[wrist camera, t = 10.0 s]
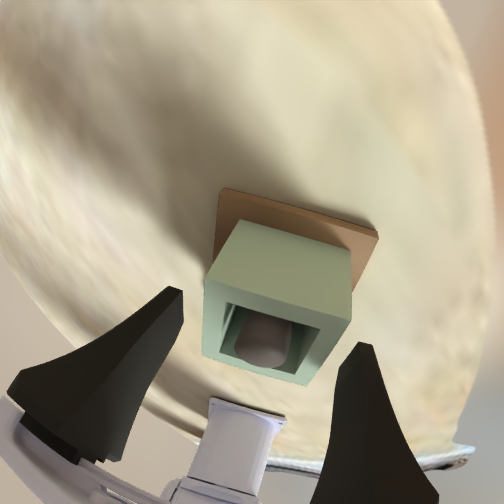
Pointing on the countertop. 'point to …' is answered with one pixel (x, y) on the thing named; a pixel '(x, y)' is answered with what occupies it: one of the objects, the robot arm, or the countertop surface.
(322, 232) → the post base
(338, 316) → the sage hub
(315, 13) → the countertop surface
